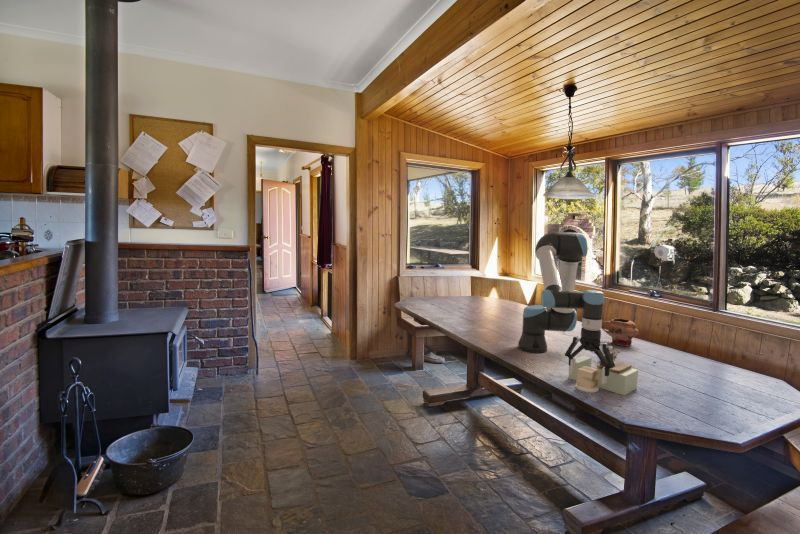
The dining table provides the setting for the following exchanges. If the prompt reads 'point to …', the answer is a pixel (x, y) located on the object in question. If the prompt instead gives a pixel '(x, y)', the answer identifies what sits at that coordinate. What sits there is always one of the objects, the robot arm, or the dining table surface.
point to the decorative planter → (621, 331)
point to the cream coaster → (587, 389)
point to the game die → (612, 351)
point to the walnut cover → (616, 365)
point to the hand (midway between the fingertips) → (587, 378)
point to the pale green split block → (610, 377)
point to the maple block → (587, 377)
